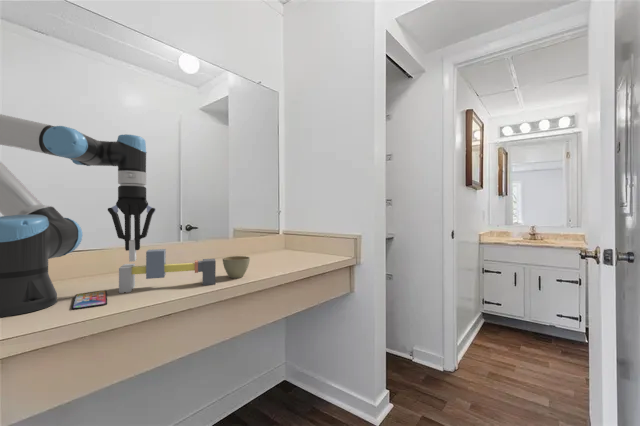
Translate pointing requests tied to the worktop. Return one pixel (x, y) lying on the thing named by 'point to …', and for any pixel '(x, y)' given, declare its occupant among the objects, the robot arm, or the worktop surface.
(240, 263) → the flower pot
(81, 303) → the smartphone
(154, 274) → the sleeve
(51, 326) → the worktop surface
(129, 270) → the rail
